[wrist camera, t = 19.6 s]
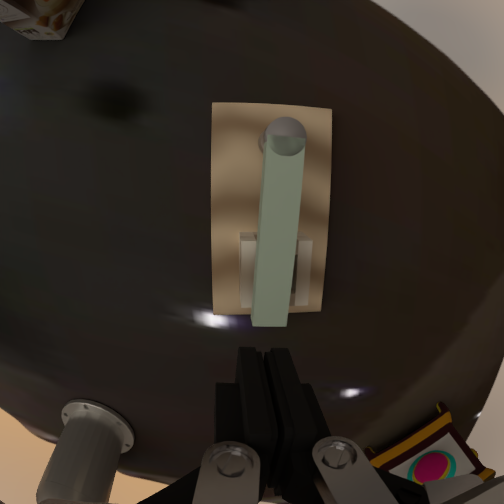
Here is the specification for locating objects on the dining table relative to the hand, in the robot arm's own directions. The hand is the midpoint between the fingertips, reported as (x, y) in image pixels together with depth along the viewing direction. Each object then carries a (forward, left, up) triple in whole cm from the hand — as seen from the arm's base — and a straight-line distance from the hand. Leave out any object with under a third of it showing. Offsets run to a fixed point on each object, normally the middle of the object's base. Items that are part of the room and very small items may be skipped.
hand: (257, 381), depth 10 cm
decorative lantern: (-42, -35, -23) cm, 60 cm away
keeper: (+3, -3, -17) cm, 17 cm away
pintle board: (+3, -4, -23) cm, 24 cm away
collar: (-2, -4, -22) cm, 22 cm away
